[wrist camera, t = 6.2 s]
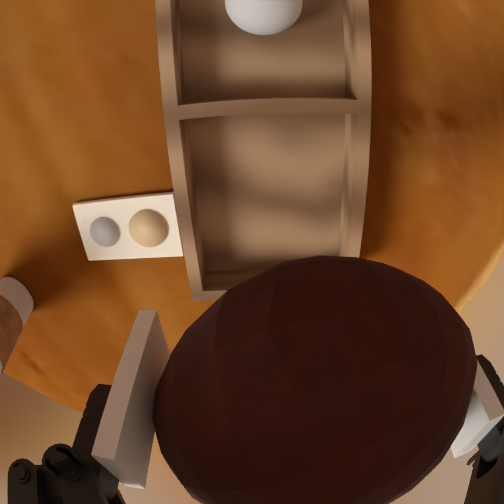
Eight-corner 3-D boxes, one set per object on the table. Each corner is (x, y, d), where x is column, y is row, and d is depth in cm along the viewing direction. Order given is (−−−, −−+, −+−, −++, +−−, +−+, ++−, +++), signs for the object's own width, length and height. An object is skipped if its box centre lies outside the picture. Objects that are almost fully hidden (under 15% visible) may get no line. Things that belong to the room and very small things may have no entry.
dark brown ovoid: (432, 308, 14) (512, 469, 6) (235, 401, 17) (232, 552, 9) (369, 156, 10) (567, 357, 2) (123, 307, 14) (55, 501, 6)
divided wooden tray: (167, -59, 15) (154, -77, 12) (343, -63, 15) (357, -81, 12) (198, 274, 31) (192, 300, 27) (343, 267, 31) (353, 292, 27)
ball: (225, -18, 17) (220, -39, 13) (294, -19, 17) (305, -40, 13) (229, 41, 20) (224, 31, 15) (298, 39, 20) (310, 29, 15)
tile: (74, 202, 27) (71, 206, 26) (174, 191, 27) (172, 194, 26) (90, 257, 30) (87, 261, 29) (184, 252, 30) (182, 257, 29)
